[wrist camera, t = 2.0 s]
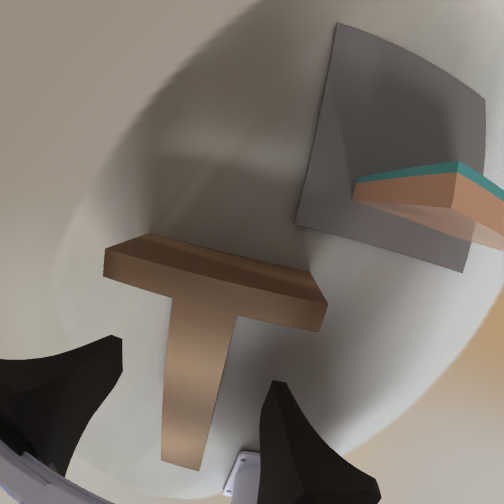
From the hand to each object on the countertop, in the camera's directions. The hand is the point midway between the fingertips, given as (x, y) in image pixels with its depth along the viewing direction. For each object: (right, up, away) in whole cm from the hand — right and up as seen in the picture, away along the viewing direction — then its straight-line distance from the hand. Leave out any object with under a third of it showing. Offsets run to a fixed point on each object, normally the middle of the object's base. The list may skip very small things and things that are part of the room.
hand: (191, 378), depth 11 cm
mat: (+12, +12, +1) cm, 17 cm away
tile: (+11, +8, +2) cm, 14 cm away
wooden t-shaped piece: (0, -1, +5) cm, 5 cm away
